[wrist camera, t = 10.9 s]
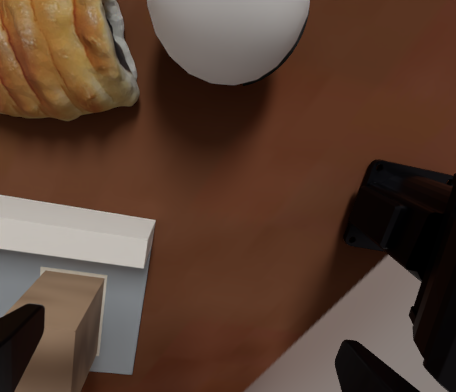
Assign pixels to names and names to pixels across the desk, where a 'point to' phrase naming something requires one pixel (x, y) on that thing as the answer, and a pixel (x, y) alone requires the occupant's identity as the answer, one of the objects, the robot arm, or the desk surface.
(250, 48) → the white egg
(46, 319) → the walnut block
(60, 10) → the pastry
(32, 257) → the corner arena
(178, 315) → the desk surface
